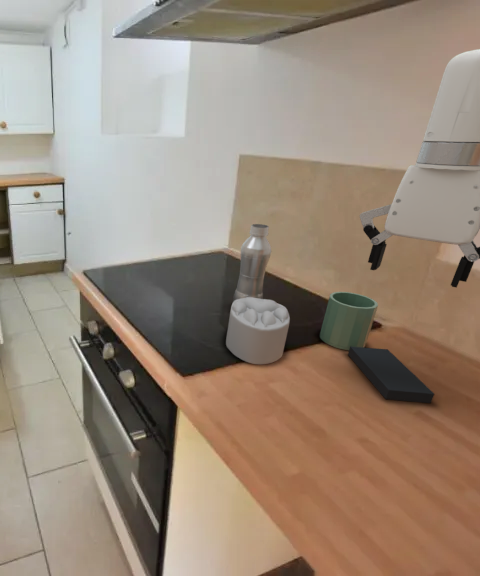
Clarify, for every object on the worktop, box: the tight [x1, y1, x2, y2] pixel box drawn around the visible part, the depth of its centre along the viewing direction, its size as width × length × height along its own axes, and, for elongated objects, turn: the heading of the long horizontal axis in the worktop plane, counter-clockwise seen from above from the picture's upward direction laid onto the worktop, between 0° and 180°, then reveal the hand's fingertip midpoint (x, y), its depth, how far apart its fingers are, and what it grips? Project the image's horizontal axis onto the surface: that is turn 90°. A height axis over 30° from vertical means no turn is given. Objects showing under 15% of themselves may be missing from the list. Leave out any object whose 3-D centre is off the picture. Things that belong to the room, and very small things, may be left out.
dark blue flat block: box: [347, 347, 435, 404], centre depth 65 cm, size 6×13×2 cm, turn 171°
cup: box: [319, 291, 379, 351], centre depth 74 cm, size 8×8×9 cm
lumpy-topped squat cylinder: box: [225, 297, 291, 365], centre depth 72 cm, size 10×13×9 cm
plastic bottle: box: [232, 223, 272, 303], centre depth 85 cm, size 6×7×20 cm
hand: (412, 276), depth 57 cm, fingers open, 9 cm apart
